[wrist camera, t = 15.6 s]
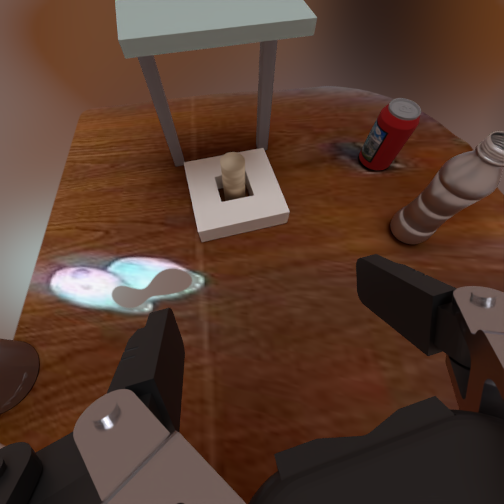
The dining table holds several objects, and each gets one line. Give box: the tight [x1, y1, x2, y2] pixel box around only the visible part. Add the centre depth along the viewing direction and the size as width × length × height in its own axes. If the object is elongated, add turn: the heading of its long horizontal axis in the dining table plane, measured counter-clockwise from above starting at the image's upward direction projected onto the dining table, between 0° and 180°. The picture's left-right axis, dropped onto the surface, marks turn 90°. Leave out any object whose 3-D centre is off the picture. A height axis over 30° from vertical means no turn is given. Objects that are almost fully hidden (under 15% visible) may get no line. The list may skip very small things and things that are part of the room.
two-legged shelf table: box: [115, 0, 317, 167], centre depth 39 cm, size 14×20×26 cm
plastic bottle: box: [390, 131, 504, 244], centre depth 37 cm, size 6×7×20 cm
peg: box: [220, 152, 245, 201], centre depth 44 cm, size 4×4×10 cm
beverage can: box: [359, 98, 421, 170], centre depth 48 cm, size 7×7×12 cm
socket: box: [184, 148, 290, 242], centre depth 47 cm, size 16×16×4 cm
